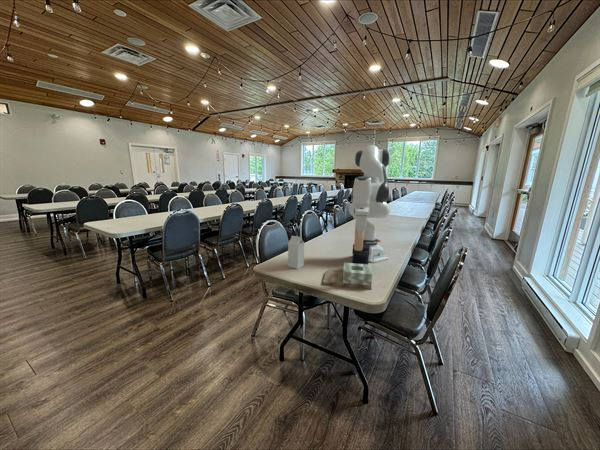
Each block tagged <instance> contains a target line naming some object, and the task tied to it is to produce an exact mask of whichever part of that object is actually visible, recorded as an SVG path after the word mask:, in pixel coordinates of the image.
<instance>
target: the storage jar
mask: <svg viewBox="0 0 600 450" xmlns="http://www.w3.org/2000/svg"><path fill="white" fill-rule="evenodd" d="M369 253H370V246H369V245H367V244H363V250H362V251H357V250H354V243H353V244H352V254H351V255H352V259H351V263H355V264H368V265H370V262H368V259H369Z"/></svg>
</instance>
